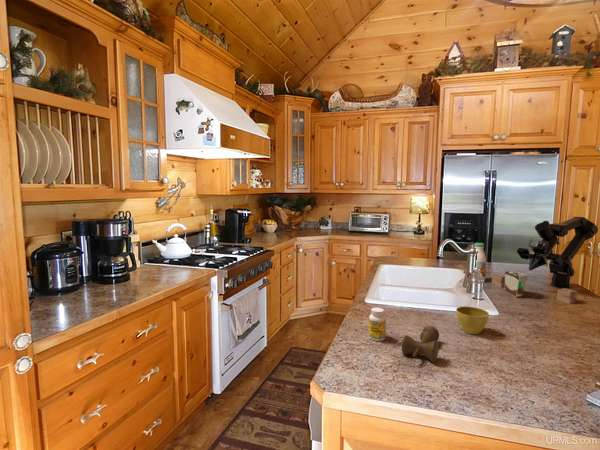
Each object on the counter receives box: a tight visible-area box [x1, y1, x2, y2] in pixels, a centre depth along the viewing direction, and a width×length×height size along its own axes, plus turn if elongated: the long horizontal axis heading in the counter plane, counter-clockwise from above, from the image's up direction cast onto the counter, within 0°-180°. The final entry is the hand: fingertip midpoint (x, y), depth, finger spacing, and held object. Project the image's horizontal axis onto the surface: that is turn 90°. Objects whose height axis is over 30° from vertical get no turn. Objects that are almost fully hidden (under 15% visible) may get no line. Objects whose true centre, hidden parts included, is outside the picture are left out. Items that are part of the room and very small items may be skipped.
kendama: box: [401, 325, 440, 363], centre depth 105 cm, size 6×10×20 cm
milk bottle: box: [473, 242, 487, 282], centre depth 184 cm, size 8×8×20 cm
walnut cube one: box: [491, 273, 505, 288], centre depth 176 cm, size 5×5×5 cm
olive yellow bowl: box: [455, 306, 490, 335], centre depth 120 cm, size 10×10×7 cm
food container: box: [503, 270, 528, 299], centre depth 161 cm, size 12×6×10 cm, turn 179°
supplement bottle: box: [368, 307, 387, 342], centre depth 114 cm, size 5×5×10 cm
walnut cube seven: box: [556, 288, 578, 305], centre depth 152 cm, size 5×5×5 cm
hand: (529, 269), depth 164 cm, fingers closed
